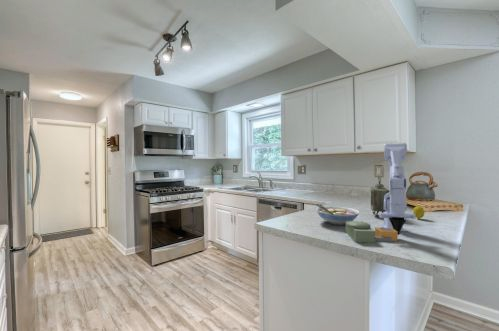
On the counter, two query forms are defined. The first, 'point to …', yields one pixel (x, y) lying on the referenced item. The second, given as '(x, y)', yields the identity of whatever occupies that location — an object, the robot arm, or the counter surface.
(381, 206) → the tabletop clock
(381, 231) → the orange square frame
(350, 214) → the ramen bowl
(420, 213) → the lemon
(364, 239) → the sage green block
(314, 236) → the counter surface
